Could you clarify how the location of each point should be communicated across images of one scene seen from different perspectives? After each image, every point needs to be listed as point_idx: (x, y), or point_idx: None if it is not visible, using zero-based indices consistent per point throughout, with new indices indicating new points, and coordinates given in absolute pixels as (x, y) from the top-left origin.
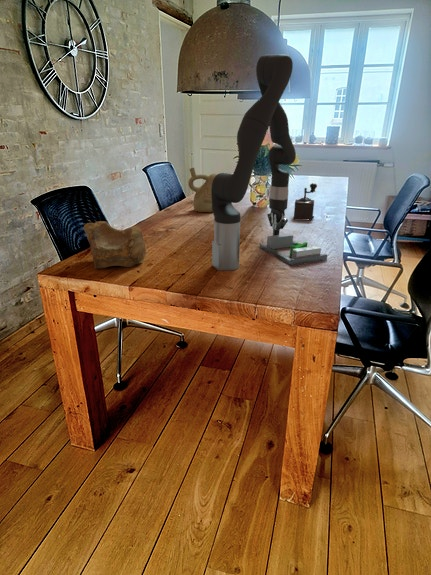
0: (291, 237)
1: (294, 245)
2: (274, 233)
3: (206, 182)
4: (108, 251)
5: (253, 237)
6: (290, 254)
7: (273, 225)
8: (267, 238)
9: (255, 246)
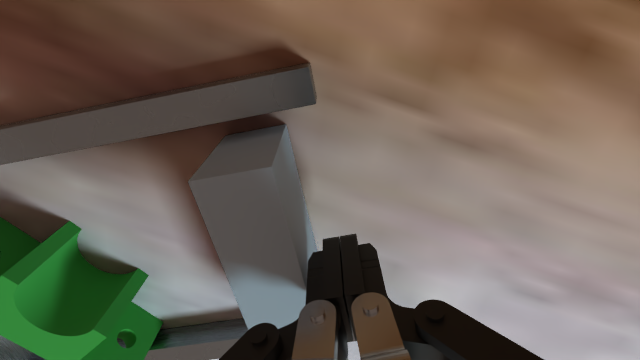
0: None
1: None
2: (328, 265)
3: None
4: None
5: (632, 106)
6: (57, 231)
7: (368, 333)
8: (270, 157)
9: (344, 27)
